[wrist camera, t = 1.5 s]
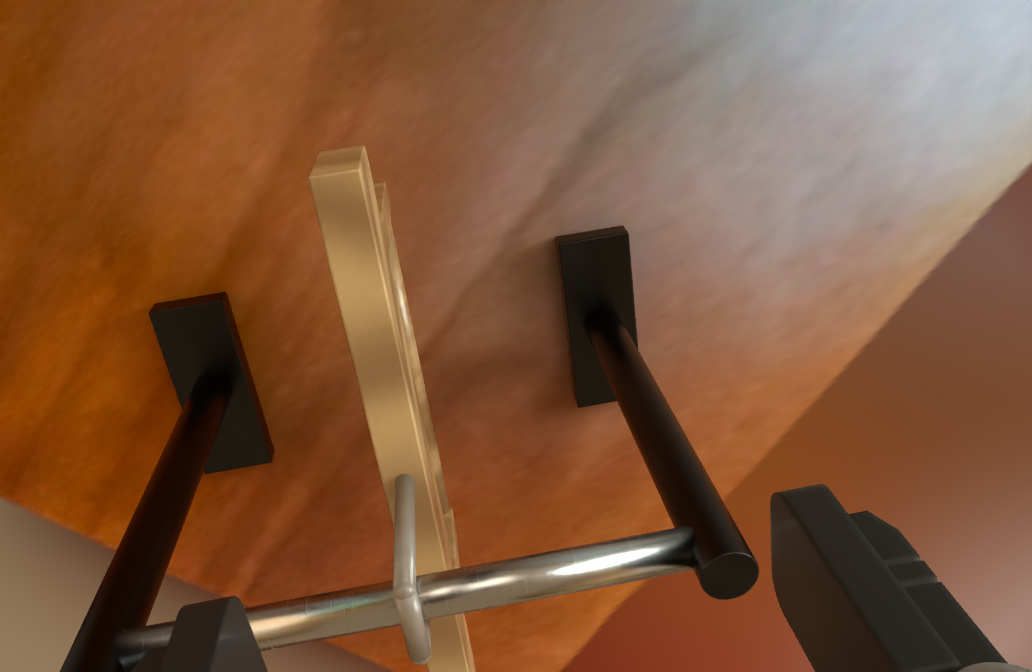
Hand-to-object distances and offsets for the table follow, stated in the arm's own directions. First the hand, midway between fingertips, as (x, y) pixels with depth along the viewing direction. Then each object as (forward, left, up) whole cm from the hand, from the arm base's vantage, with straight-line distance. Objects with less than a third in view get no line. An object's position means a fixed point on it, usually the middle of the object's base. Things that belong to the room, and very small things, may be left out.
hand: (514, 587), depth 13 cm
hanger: (+7, -3, -23) cm, 24 cm away
